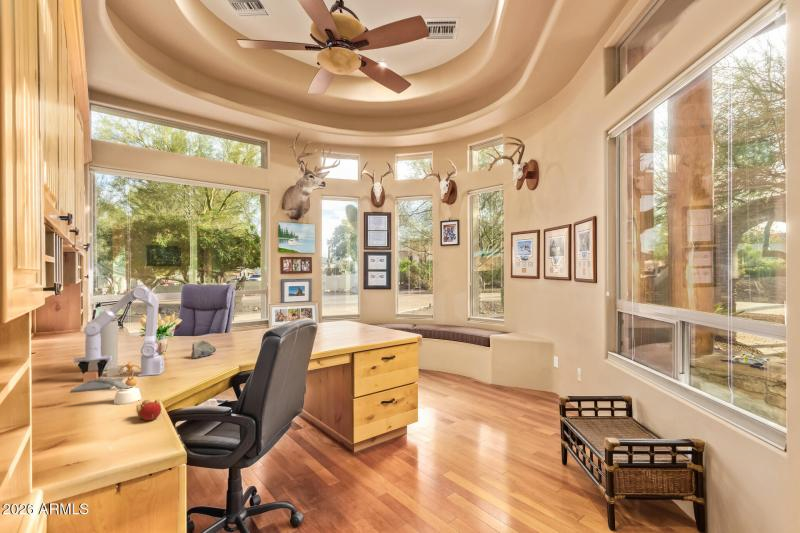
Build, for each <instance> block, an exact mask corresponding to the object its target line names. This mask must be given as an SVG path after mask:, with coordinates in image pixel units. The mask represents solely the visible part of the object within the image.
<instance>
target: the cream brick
mask: <svg viewBox="0 0 800 533" xmlns="http://www.w3.org/2000/svg"><path fill="white" fill-rule="evenodd" d="M123 366H125V364H118V365H114V366H111V367H109V368H107V371H106V377H113V376H112V375H119V376H120V374H121V373H122V374H123V372H124V371H125V367H124V368H122V369H121V371H120V373H119V370H120V368H121V367H123ZM124 373H125V372H124ZM122 374H121V375H122Z"/></svg>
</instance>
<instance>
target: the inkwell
mask: <svg viewBox="0 0 800 533" xmlns="http://www.w3.org/2000/svg"><path fill="white" fill-rule="evenodd" d="M116 379H117V378H111V377H108V376H106V377H105V376H104V377H103V376H102V377H101V378H96V379H93V380H90V381H89V382H87V383H91V382H98V383H103V384H110V385H112V386H114V387H115V388H117V389H119V390H117V391H116V393H115V396H114V399H113V404H114V405H127V403H128V404H133V403H136V402H138V400H139V401H140V400H142V399H143V397H142V393H141V391H140V388H138V387H136V386H127V385H126V384H125V383H124V382H123V381H119V380H116ZM132 402H133V403H132Z"/></svg>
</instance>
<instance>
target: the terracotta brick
mask: <svg viewBox="0 0 800 533" xmlns="http://www.w3.org/2000/svg"><path fill="white" fill-rule="evenodd" d="M82 377H83V378H82V380H83V383H85V382H86V381H90V380H93V379H96V378H101V377H103V375H102V376H101V377H98V370H90V371H88V372H86V373H84V374H83V373H82Z"/></svg>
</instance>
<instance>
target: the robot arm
mask: <svg viewBox="0 0 800 533" xmlns="http://www.w3.org/2000/svg"><path fill="white" fill-rule="evenodd" d="M136 300H139V301H141V302H143V303H144V304H145V305H146V306H147V307H146V318H145V319H146V320H145V332H144V333H145V334H144V338H143V339H144V340H143V346H142V347H141V349H140V354H141V355H140V368H141V370H142V371H141V370H140V373H139V374H137V377H144V376H156V375H161V374H162V373H163V372H165V356H164V355H161V354H159V352H157V351H158V350H159V344H158V341H157V340H158V338H157V330H158V320H159V318H158V316H159V307H160V306H159V304H160V300H159V299H158V297H157V296H156V295H155V293H154V291H153V290H152V289H151V288H150V287H149V286H146V285H139V286H136V287H134V288H133V289H132V290H129V292H127V293H126V294H124V295H123V297H121V298H120V299H119V300H118V301H117V302H116V303H115V304H114V305H113V306H111V308H109V309H104V310H101V311H100V312H99V314H98V315H96V317H95V318H93V319H91V320H90V322H92V323H89V324H87V323H86V324H85V326H84V328H83V333H84V334H85V341H84V342H85V343H84V344H85V346H84V348H85V350H84V352H85V354H84V357H76V358H73V364H77V363H78V364H77V367H78V368H79V369H80V371H81V373H82V375H83V374H84V373H86V372H88V366H89V362H94V361H100V362H98V363H97V366H98V377H101V376H102V377H103V373H104V371H103V370H104V368H105V366H106V364H107V362H108V361H111V360H112V356H101V331H102V329H103V328H104V327H106V326H107V325H108V324H109V323H110V322H111V321H112V320H116V316H117V315H116V314H117V313H118V312H119V311H121V310H122V309H123V308H124V307H126V305H128V304H129V303H130V302H133V301H136Z"/></svg>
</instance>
